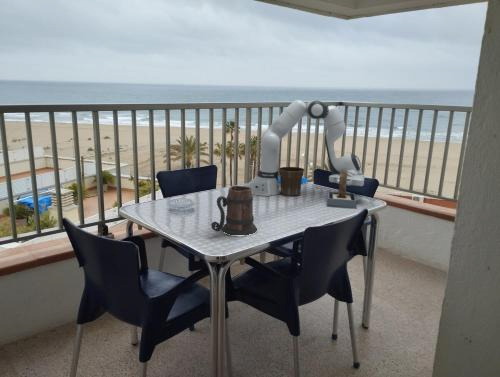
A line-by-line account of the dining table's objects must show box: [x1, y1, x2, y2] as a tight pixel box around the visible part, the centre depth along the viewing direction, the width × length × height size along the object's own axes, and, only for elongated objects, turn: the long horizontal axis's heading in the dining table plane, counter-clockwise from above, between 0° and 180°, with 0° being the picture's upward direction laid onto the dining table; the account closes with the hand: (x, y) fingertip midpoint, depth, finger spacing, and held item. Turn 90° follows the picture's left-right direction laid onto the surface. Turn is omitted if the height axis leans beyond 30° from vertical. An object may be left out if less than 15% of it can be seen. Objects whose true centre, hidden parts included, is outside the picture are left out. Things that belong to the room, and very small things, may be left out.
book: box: [278, 176, 309, 188], centre depth 256 cm, size 17×4×25 cm
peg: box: [338, 170, 347, 198], centre depth 208 cm, size 4×4×16 cm
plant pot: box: [278, 166, 305, 197], centre depth 229 cm, size 16×16×16 cm
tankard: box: [210, 185, 258, 236], centre depth 164 cm, size 24×17×20 cm
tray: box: [326, 191, 358, 209], centre depth 211 cm, size 16×16×4 cm
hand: (342, 182), depth 207 cm, fingers closed on peg, 4 cm apart
